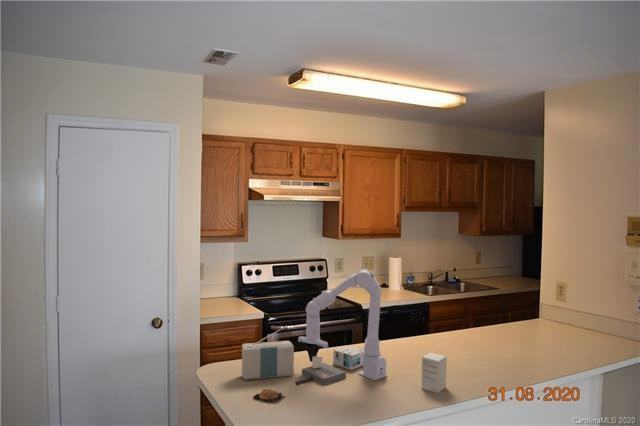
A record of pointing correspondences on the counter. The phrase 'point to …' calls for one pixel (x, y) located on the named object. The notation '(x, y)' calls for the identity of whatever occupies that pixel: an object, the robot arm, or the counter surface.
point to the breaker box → (324, 374)
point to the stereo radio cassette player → (267, 359)
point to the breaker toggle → (317, 361)
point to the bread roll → (269, 396)
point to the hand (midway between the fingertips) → (312, 361)
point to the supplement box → (434, 372)
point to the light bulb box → (348, 357)
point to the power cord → (303, 380)
